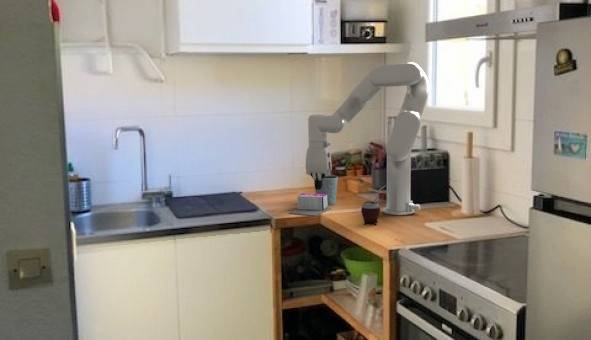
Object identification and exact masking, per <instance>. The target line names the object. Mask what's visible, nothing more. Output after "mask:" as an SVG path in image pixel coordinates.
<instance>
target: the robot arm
mask: <svg viewBox="0 0 591 340" xmlns="http://www.w3.org/2000/svg"><path fill="white" fill-rule="evenodd" d="M429 84H430V83H429V80H428V77H427V75H426V73H425V72H424V70H423V69H422V68H421V67H420V66H419V64H418V63H415V62H404V63H393V64H377V65H375V66H373V68H371V70H370V71H369V72H368V73H367V75H366V76H364V78H363V79H362V80H361V81H360V82H359V83H358V84H357V85H356V86H355V87H354V88H353V90H352V91H351V92H350V93H349V95H348V97H347V98H346V99H345V101H344V102H342V104H341V105H340V106H339V107H338V108H337V109H336V110H335V111H334V112H333V114H331V115H325V114H311V115H309V116H308V120H307V126H308V127H307V128H308V130H307V131H308V147H307V150H306V154H305V171H306V172H305V174H306V176H307V175H308V176H311V178H312V180H313V182H314V188H315V189H314V190H320V189H322V187H323V179H324V178H325V176H330V175H332V173H331V171H332V170H333V169H332V157H331V156H332V155H331V151H330V148H328V147H330V146H331V143H330V142H328V133H329V134H339V133H341V132H342V131H343V130H344V129H346V127H347V126H348V125H349V124H350V123H351V122H352V121H353V120H354V119H355V118H356V117H357V116H358V115H359V114H360V113H361V112H362V111H363V110H364V109H366V108H367V107H368V106H369V105H370V104H371V102H372V101H373V100H374V99H375V98H376V97H377V96H378V95H379V94H380V93H381V92H382V91H383V90H384V89H385V88H393V87H405V86H406V92H405V95H404V98H403V101H402V105H401V107H400V109H399V111H398V113H397V115H396V118H395V121H394V124H393V127H392V130H391V132H390V136H389V138H388V140H387V142H386V148H385V152H386V206H385V207H384V208H382V213H384V214H386V215H392V216H407V215H412V214H414V213H415V210H416V211H420V210H421V205H420V204H419V203H418V204H417V203H416V204H415V203H413V200H411V189H412V188H411V177H412V176H411V173H412V172H411V169H412V166H411V164H412V161H411V160H412V150H413V147H414V144H415V141H416V138H417V137H418V133H419V131H420V127H421V124H422V123H421V121H422V120H421V119H422V116H423V112H424V109H425V106H426V104H427V100H428V96H429V93H430V92H429V90H430V85H429ZM318 175H319V177H318Z"/></svg>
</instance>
